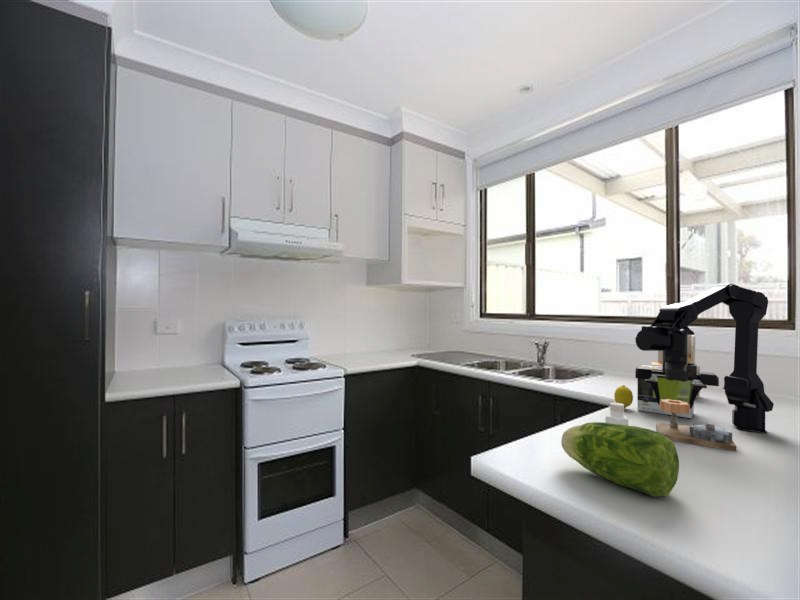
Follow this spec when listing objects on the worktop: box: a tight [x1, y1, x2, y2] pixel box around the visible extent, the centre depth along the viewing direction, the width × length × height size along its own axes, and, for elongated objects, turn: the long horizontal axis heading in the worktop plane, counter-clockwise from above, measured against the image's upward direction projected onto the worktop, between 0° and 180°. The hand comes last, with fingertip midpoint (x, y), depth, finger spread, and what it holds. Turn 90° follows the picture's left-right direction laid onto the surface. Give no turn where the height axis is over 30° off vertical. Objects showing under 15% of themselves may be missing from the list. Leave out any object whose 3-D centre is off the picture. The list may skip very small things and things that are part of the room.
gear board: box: [655, 412, 738, 452], centre depth 105 cm, size 16×13×5 cm
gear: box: [659, 399, 690, 414], centre depth 109 cm, size 7×7×2 cm
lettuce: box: [560, 421, 680, 498], centre depth 77 cm, size 12×21×11 cm, turn 41°
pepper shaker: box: [604, 402, 629, 426], centre depth 100 cm, size 4×4×10 cm
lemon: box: [613, 384, 634, 409], centre depth 134 cm, size 6×6×8 cm
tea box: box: [636, 364, 695, 419], centre depth 131 cm, size 15×10×15 cm
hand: (674, 406), depth 109 cm, fingers closed on gear, 7 cm apart
